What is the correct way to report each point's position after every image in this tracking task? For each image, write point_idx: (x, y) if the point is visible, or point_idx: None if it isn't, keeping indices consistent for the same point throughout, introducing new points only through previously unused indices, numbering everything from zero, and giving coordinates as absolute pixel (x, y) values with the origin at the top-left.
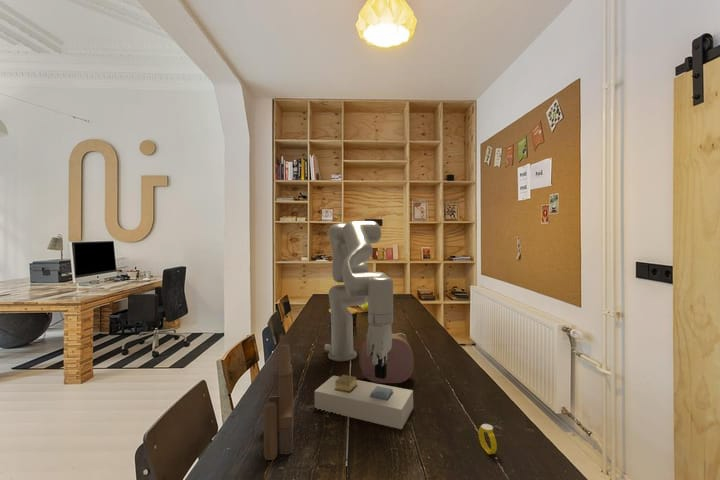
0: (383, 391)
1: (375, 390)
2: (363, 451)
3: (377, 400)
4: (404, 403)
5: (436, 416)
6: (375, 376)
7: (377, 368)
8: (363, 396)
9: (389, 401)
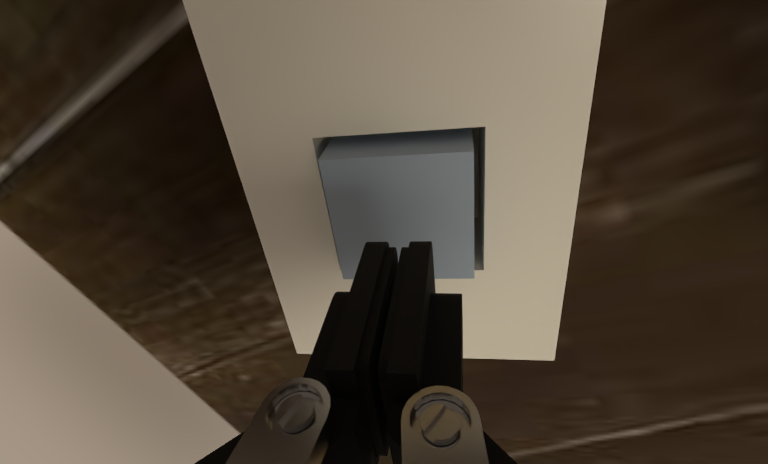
0: (401, 236)
1: (383, 173)
2: (97, 199)
3: (303, 214)
4: None
5: (496, 369)
6: (368, 247)
7: (312, 371)
8: (290, 87)
9: (337, 283)
